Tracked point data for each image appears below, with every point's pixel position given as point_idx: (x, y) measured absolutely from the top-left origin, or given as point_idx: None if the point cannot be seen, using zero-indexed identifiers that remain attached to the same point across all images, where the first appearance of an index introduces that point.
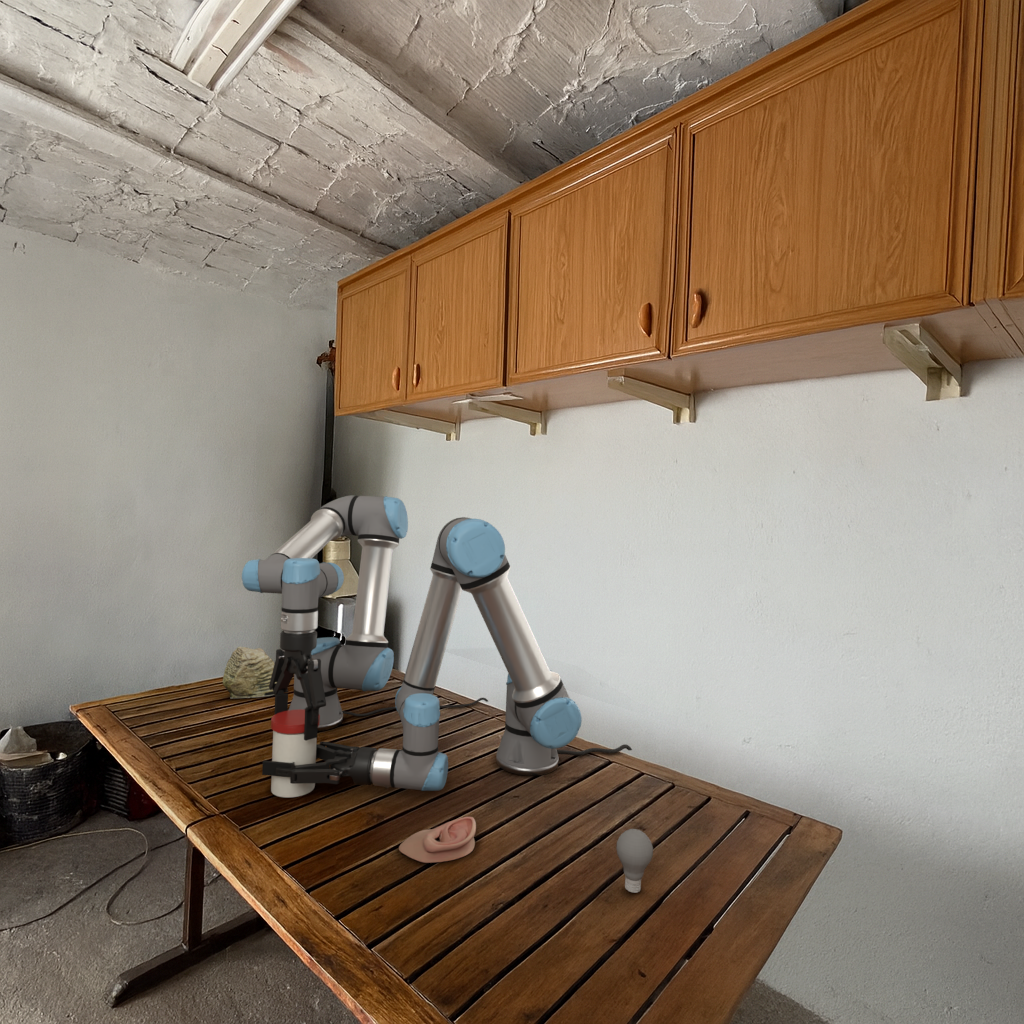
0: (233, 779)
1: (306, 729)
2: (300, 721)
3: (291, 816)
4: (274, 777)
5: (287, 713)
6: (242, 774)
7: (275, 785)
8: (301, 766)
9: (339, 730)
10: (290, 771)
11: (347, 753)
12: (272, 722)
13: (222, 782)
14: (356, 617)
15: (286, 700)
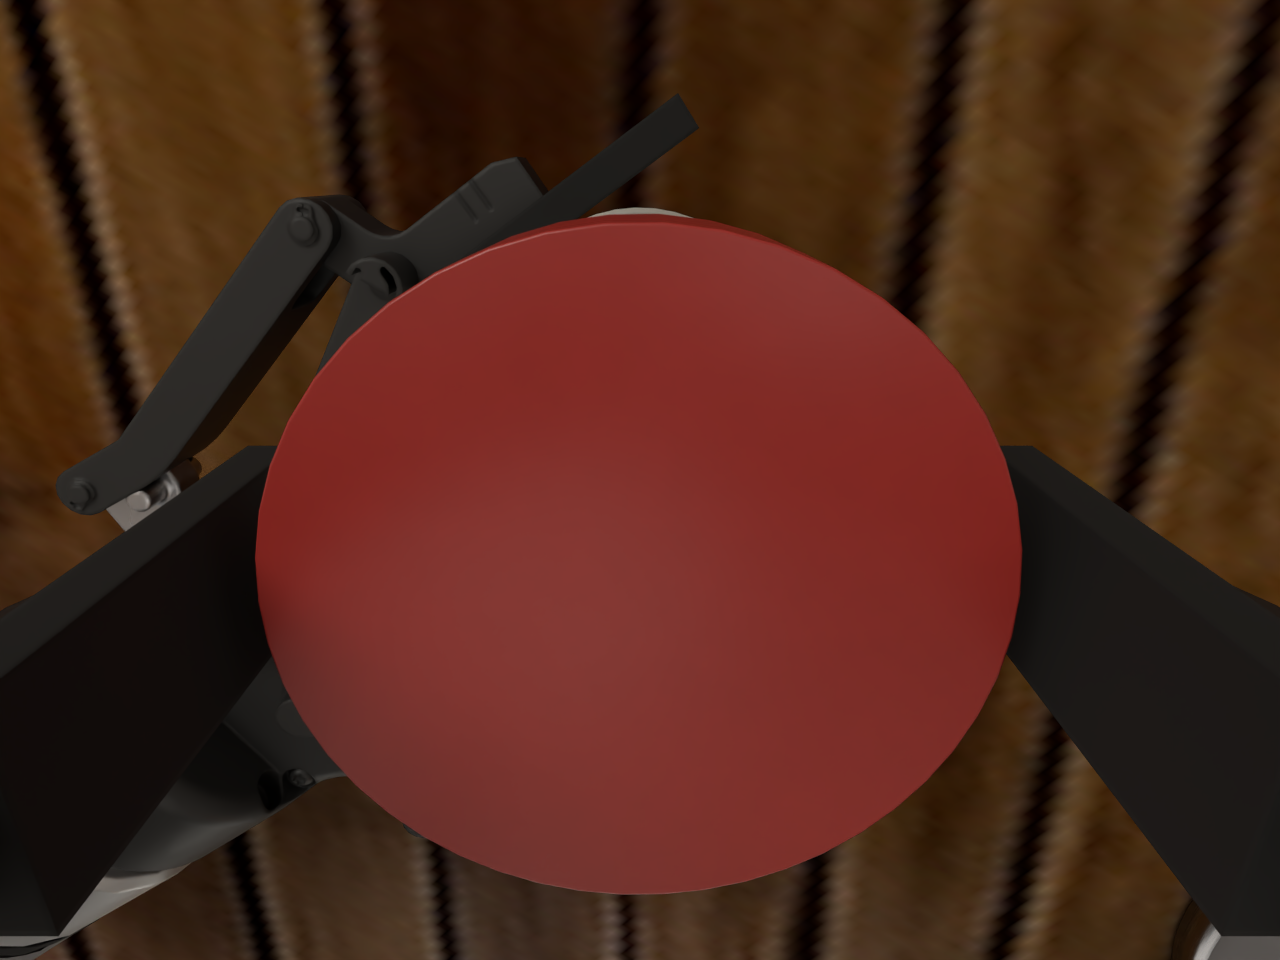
0: (1085, 116)
1: (165, 506)
2: (398, 569)
3: (268, 124)
4: (638, 213)
5: (881, 613)
6: (1101, 212)
7: (623, 212)
8: (348, 331)
9: (1122, 949)
10: (388, 235)
11: (292, 710)
12: (722, 227)
13: (1112, 22)
14: None
15: (1138, 796)
